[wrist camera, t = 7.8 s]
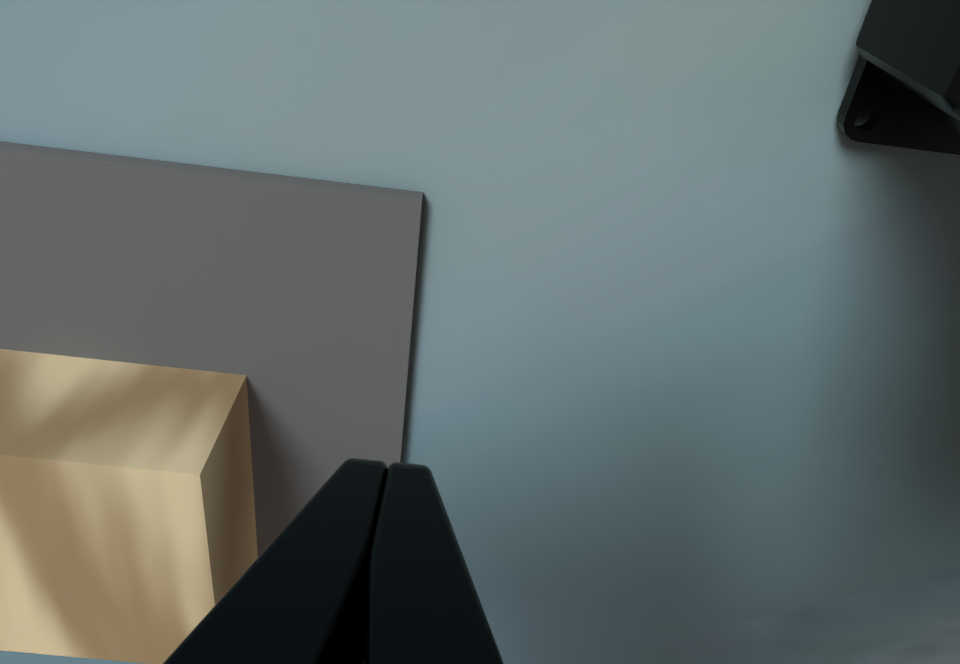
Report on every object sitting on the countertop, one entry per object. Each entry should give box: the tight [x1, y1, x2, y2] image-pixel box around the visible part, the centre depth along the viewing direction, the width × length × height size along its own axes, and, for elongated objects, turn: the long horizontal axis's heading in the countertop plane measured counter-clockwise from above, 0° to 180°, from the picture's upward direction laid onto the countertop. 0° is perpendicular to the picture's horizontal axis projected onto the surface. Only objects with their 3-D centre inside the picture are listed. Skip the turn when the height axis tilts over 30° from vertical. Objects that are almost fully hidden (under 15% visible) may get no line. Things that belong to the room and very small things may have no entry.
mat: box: [0, 142, 423, 557], centre depth 24 cm, size 15×20×1 cm
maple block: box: [0, 349, 258, 664], centre depth 22 cm, size 4×8×10 cm
